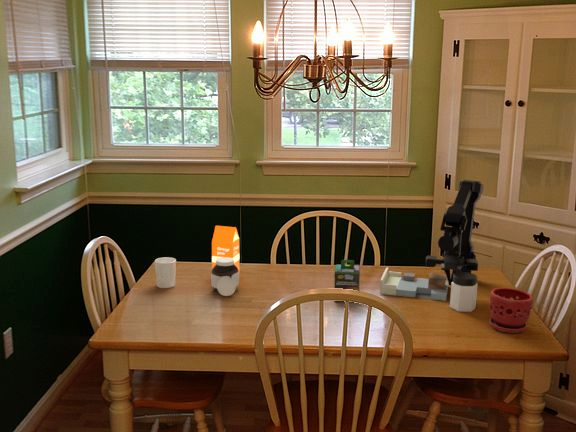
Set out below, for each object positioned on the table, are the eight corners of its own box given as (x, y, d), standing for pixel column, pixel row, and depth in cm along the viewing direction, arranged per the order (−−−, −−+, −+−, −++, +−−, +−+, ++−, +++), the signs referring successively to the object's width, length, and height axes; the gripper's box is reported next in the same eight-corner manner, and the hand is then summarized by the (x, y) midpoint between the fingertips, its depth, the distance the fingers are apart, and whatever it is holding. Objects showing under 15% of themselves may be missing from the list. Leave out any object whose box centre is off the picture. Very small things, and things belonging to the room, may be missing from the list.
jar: (480, 310, 236) (483, 277, 233) (461, 313, 233) (464, 280, 230) (463, 302, 244) (465, 270, 241) (445, 305, 241) (447, 273, 238)
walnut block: (445, 284, 255) (446, 274, 254) (444, 289, 249) (445, 279, 248) (429, 283, 256) (429, 273, 255) (428, 288, 251) (428, 277, 250)
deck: (448, 287, 260) (449, 273, 258) (445, 301, 245) (447, 286, 243) (385, 280, 266) (386, 267, 265) (379, 294, 251) (380, 279, 250)
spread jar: (229, 284, 259) (228, 255, 257) (248, 291, 251) (248, 261, 249) (204, 291, 251) (203, 261, 248) (223, 299, 243) (223, 268, 241)
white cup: (151, 287, 254) (150, 261, 252) (162, 281, 262) (162, 256, 259) (169, 290, 252) (168, 264, 249) (180, 283, 259) (179, 258, 256)
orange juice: (232, 279, 265) (232, 229, 260) (211, 276, 267) (211, 227, 263) (239, 273, 272) (239, 225, 268) (219, 270, 275) (218, 223, 270)
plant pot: (520, 339, 212) (523, 303, 210) (480, 328, 221) (483, 293, 218) (535, 327, 222) (539, 293, 219) (497, 317, 230) (500, 283, 228)
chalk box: (359, 294, 250) (360, 256, 247) (359, 303, 241) (360, 263, 238) (334, 293, 251) (335, 255, 248) (333, 301, 242) (334, 262, 239)
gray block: (414, 283, 262) (415, 273, 262) (413, 286, 259) (414, 276, 258) (404, 282, 264) (404, 272, 263) (402, 285, 260) (403, 275, 259)
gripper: (425, 248, 242) (422, 289, 246) (479, 252, 238) (476, 294, 241) (427, 240, 253) (425, 280, 256) (479, 244, 248) (476, 284, 252)
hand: (450, 285), depth 251 cm, fingers closed
